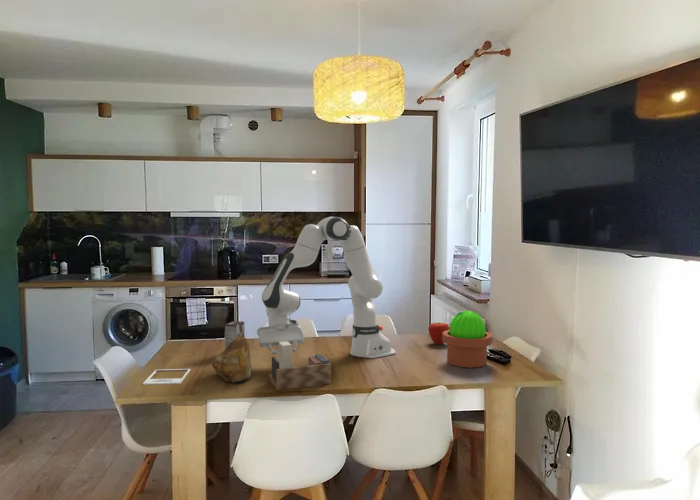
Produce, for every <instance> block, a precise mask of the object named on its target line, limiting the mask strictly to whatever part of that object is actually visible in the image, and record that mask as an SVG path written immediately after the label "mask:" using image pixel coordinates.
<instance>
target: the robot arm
mask: <svg viewBox="0 0 700 500" xmlns="http://www.w3.org/2000/svg"><path fill="white" fill-rule="evenodd" d="M324 241H339V242H340V245H341V249H342V251H343V255H344V259H345V262H346V265H347V268H348V269H349V271H350V272H351V275H350V277H349V279H348V281H347V283H348V284H347V286H348V288H349V291H350V296H351V303H352V308H353V309H352V310H353V312H352V315H353V316H352V317H353V318H352V320H353V322H352V323H353V324H352V328H351V329H352V330H351V335H352V340H351V341H352V342H351V348H350V351H349V354H350V355H351V356H353V357H354V356H355V357H359V358H368V359H375V358H376V359H377V358H380V357H388V356H393V355H396V354H397V353H396V350H395V349H394V348H392V344H391V340H390V339H389V338H388V337H386V336H385V335H384V334H383V333H381V332H382V331H383V330H384V327H383V326H381V325H378V324H377V309H376V306H375V302H374V299H377V298H378V297H380V296H381V294H382V292H383V288H384V286H383V283H382V281H380V279H379V277H378V275H377V274H376V271H375V269H374V267H373V265H372V263H371V260H370V257H369V253H368V250H367V246H366V243H365V240H364V237H363V235H362V232H361V231H360V229H359V227H358V226H357V225H353V224H352V225H351V224H350V225H349V223H348V222H347V221H346V219H344V218H342V217H339V216H328V217H322V218H321V219H320V220H318V221H317V223H315V224H314V223H313V224H311V223H310V224H306V225H305V226H304V227H303V228H302V230H301V232H300V233H299V236H298V237H297V241H296V242H295V245H294V247H293V249H292V250H291V251H290V252H288V253H286V254H285V255H284V256H283V258H282V260H281V261H280V263H279V265H278V266H277V268H276V271H275V272H274V273H273V276H271V277H272V278H271V280H270V281H269V283H268V285H267V286H266V287H265V289H264V290H263V291H262V294H261V299H262V303H263V305H264V306H265V312H266V316H267V318H268V320H267V323H268V326H263V327H262V326H261V327H259V328H258V329H257V330H256V334H257V336H258V346H259V347H260V348H266V347H267V349H268V350H269V351H270V352H271V355H276V353H277V351H276V348H273V347H278V343H279V342H284V341H288V342H289V343H290V344H291V345H293V347H292V353H297V352H298V351H297V346H298V345H300V344H303V343H304V341H305V335H304V334H305V333H304V331H303V329H302V327H301V326H300V323H299V321H298V319H297V320H296V319H292V318H288V316H290V315H293V314H294V313H295V312H296V311H297V310H298V309H299V308H300V306H301V296H300V295H299V293H298V292H295V291H292V290H290V289H286V288H282V286H283V285H284V282H285V281H286V279H287V277H288V274H289V273H290V272H291V271H292V270H293V269H296V268H304V267H309V266H310V265H313V263H314V262H315V261H316V260H317V257H318V254H319V252H320V249H321V246H322V244H323V243H324Z"/></svg>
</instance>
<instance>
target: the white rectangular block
mask: <svg viewBox="0 0 700 500" xmlns="http://www.w3.org/2000/svg"><path fill="white" fill-rule="evenodd" d="M292 349H293V347H292V344H290V343H289V342H288V341H284V342H279V343H278V346H277V361H278V362H279V369H282V368H291V367H293V366H292V363H293V360H292V355H293V354H292V353H293V351H292Z"/></svg>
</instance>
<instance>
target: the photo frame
mask: <svg viewBox="0 0 700 500" xmlns="http://www.w3.org/2000/svg"><path fill="white" fill-rule="evenodd" d="M160 371H162V372H163V371H164V372H165V371H167V372H168V371H186V372H185V373H184V375H183V376H182V377H181V378H177V377H176V378H175V377H173V378H153V376H154V375H155V374H156V373H157V372H160ZM189 372H191V368H176V369H175V368H174V369H172V368H171V369H170V368H169V369H167V368H166V369H155V370H154V371H153V372H152V373H151V374H150V375H149V376H148V377H147V378H146V380H144V381H143V382H142V385H143V386H145V385H146V386H147V385H148V386H149V385H176V384H177V385H180V384H182V382H183V381H184V380H185V378H186V376H187V375H188V374H189Z"/></svg>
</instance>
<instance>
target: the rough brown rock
mask: <svg viewBox="0 0 700 500" xmlns="http://www.w3.org/2000/svg"><path fill="white" fill-rule="evenodd" d="M251 362H252V361H251V349H250V344H249V340H248V339H247V338H246V337H245V336H244V337H242V338H241V337H240V336H238V337H236V338H235V340H233V341H232V342H231V343H230V345H228V347H227V348H226V349H225V348H224V350H223V351H220V352H219V353H217V354H216V355H214V356H213V357H212V358H211V361H210V365H211V367H212V368H213V369H214V371H215V372H216V374H218V375H219V376H220V377H221V378H222V379H223V380H224V381H225V382H226V383H230V382H231V383H240V382H245V381H246V380H248V379H250V378H251V375H252V363H251Z"/></svg>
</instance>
